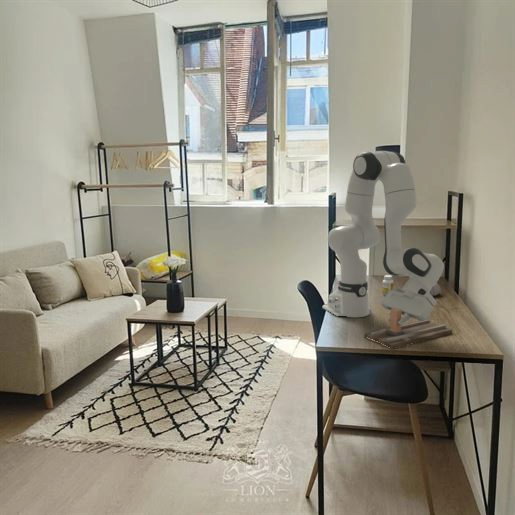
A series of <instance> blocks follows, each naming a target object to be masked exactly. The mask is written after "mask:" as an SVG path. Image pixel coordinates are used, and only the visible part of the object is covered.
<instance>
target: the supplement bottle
mask: <svg viewBox="0 0 515 515" xmlns="http://www.w3.org/2000/svg"><path fill="white" fill-rule="evenodd" d="M394 285H395V284H394V280H393V275H390V274H386V275H384V276H383V280H382V286H381V287H382V288H381V290H382V292H381V294H382V296H384V297H385V296H386V295H387V294H388V293H389V292H390V291H391V290H392V289H394Z"/></svg>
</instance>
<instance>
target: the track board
mask: <svg viewBox="0 0 515 515" xmlns="http://www.w3.org/2000/svg"><path fill="white" fill-rule="evenodd" d="M388 329H390V327H388V328H383V329H378V330H374V331H369V332H365V333H364V334H363V335H364V336H365V337H368V338H370V339H373V340H375V341H378V342H380V343H382V344H384V345H386V346H388V347H390V348H394V349H396V348H395V347H398V348H400V347H399V346H402V347H404V346H403V345H406V346H408V345H407V344H409V345H412V344H411V343H413V344H416V343H415V342H417V343H420V342H419V341H421V342H424V341H423V340H425V341H427V340H426V339H428V340H432V339H436V338H440V337H443V335H444V336H447V335H446V334H448V335H450V334H453V329H452V328H449V327H447V326H446V324H437V323H434V322H432V321H430V319H428V318H427V319H426V320H425V321H421V320H416V321H412V322H408V323H403V324H402V325H401V331H403V332H404V334H403V335H399V336H393V335H390V334H387V333H386V330H388ZM364 336H363V337H364ZM439 336H440V337H439ZM365 337H364V338H365ZM435 337H436V338H435ZM431 338H432V339H431ZM386 346H385V347H386ZM388 347H387V348H388ZM390 348H389V349H390Z"/></svg>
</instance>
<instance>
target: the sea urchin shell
mask: <svg viewBox="0 0 515 515" xmlns="http://www.w3.org/2000/svg"><path fill="white" fill-rule="evenodd" d="M441 290H442V289H441V286H440V284H438V282H437V283H436V284H435V285H434V286H433V287H432V288H431V291H430V294H431V295H432V297H434V296H437V295H438V294H439V293H441ZM439 295H440V294H439Z"/></svg>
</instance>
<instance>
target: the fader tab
mask: <svg viewBox="0 0 515 515" xmlns="http://www.w3.org/2000/svg"><path fill="white" fill-rule="evenodd" d="M389 316H390V321H389V328H390V329H388V330H386V333H387V334H390V335H393V336H399V335H403V334H404V332H403V331H401V325H399V324H397V321H398V319H401V318H402V314H401V310H399V309H391V312H390V311H389Z"/></svg>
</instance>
